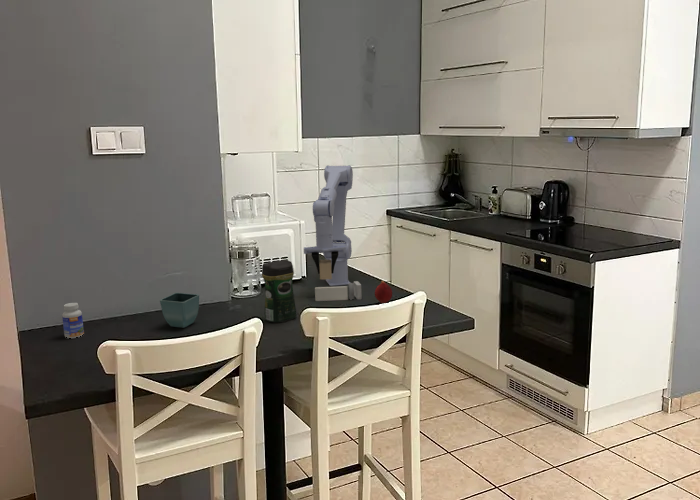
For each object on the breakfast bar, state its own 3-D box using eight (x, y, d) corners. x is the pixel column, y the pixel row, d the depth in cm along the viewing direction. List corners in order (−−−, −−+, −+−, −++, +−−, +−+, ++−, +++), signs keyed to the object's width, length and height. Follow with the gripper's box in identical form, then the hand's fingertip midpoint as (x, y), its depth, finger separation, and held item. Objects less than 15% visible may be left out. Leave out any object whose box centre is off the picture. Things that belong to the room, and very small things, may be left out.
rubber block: (320, 275, 232) (319, 260, 231) (331, 274, 232) (331, 259, 231) (320, 279, 226) (319, 263, 225) (331, 279, 226) (331, 263, 225)
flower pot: (186, 330, 197) (183, 302, 195) (161, 328, 200) (158, 300, 198) (202, 322, 205) (200, 294, 203) (178, 319, 208) (175, 292, 206)
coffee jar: (287, 313, 211) (284, 256, 208) (300, 318, 205) (297, 260, 201) (260, 319, 206) (257, 261, 202) (273, 325, 199) (270, 265, 196)
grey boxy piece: (361, 299, 225) (361, 283, 224) (349, 300, 224) (348, 284, 223) (358, 295, 230) (357, 279, 229) (346, 296, 229) (345, 280, 228)
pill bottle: (72, 340, 191) (68, 308, 189) (60, 337, 194) (56, 305, 192) (88, 334, 196) (84, 303, 194) (76, 331, 199) (73, 300, 197)
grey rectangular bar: (347, 298, 226) (347, 285, 225) (347, 299, 224) (347, 287, 223) (315, 299, 226) (315, 286, 225) (315, 301, 224) (314, 288, 223)
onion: (392, 301, 221) (392, 278, 219) (392, 306, 215) (391, 282, 213) (375, 301, 221) (374, 278, 220) (374, 306, 216) (373, 282, 214)
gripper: (302, 237, 222) (304, 276, 224) (345, 236, 222) (346, 275, 225) (303, 233, 229) (305, 271, 231) (345, 232, 229) (346, 270, 232)
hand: (325, 273), depth 229 cm, fingers closed on rubber block, 4 cm apart
